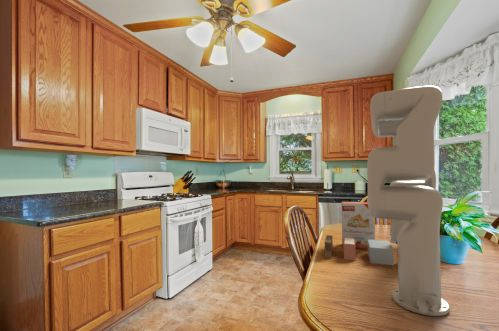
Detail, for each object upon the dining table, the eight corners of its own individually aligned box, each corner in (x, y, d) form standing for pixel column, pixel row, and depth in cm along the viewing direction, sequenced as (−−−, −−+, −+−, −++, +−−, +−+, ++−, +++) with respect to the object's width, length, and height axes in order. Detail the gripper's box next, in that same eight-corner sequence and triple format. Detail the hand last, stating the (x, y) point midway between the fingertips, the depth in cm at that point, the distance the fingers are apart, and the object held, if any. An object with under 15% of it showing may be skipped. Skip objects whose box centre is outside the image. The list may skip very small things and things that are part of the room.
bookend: (331, 258, 101) (330, 242, 101) (324, 258, 102) (324, 242, 102) (332, 249, 112) (332, 235, 113) (327, 249, 113) (326, 235, 113)
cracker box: (342, 247, 116) (341, 202, 116) (341, 243, 122) (340, 201, 122) (375, 249, 112) (374, 203, 112) (373, 245, 118) (372, 201, 118)
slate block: (394, 265, 93) (393, 249, 93) (370, 262, 96) (370, 247, 96) (388, 255, 104) (388, 241, 104) (367, 253, 107) (367, 239, 107)
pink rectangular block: (355, 260, 99) (355, 244, 99) (344, 259, 100) (343, 243, 100) (355, 253, 108) (354, 238, 108) (344, 252, 110) (344, 237, 110)
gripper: (384, 212, 97) (385, 259, 96) (430, 214, 91) (432, 264, 91) (382, 209, 104) (383, 253, 103) (424, 211, 98) (425, 258, 98)
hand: (406, 258), depth 97 cm, fingers closed
